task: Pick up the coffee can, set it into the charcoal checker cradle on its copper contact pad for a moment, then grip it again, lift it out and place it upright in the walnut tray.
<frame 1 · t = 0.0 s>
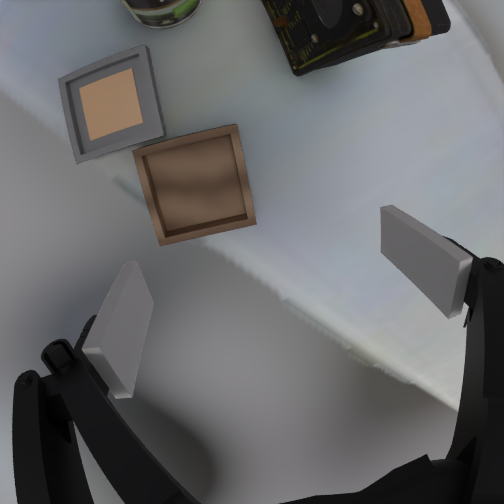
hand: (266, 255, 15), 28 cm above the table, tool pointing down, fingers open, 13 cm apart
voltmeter: (297, 26, 33), on the table
walnut tray: (196, 181, 41), on the table
checker cradle: (112, 104, 34), on the table
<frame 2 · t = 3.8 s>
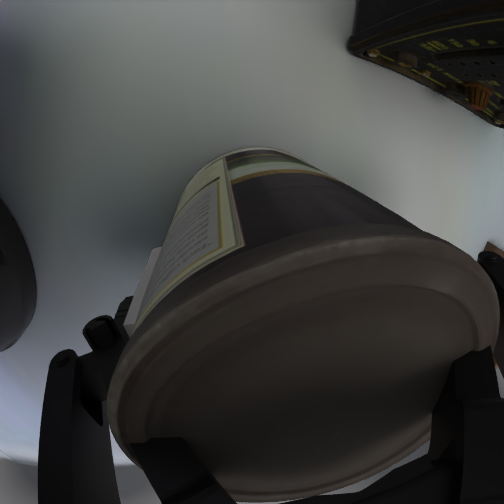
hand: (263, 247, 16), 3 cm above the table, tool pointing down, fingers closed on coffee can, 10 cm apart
coffee can: (255, 228, 19), on the table, touching gripper
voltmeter: (438, 52, 15), on the table
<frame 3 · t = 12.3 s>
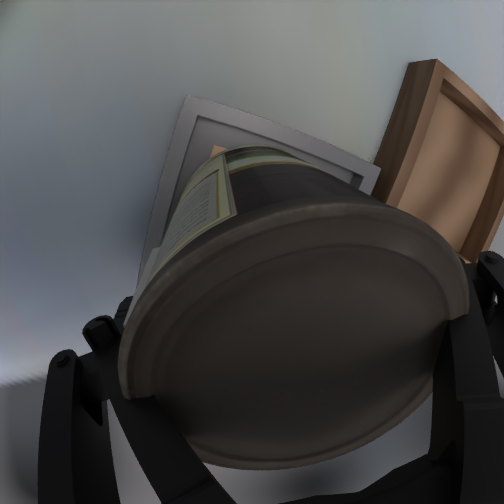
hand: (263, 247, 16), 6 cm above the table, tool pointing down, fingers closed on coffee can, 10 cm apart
coffee can: (252, 219, 20), point 1 cm above the table, touching checker cradle, gripper
walnut tray: (441, 171, 21), on the table
checker cradle: (251, 215, 21), on the table
when the fingers open (7 cm above the table, at t = 18.9 s): coffee can drops 1 cm, resting on walnut tray.
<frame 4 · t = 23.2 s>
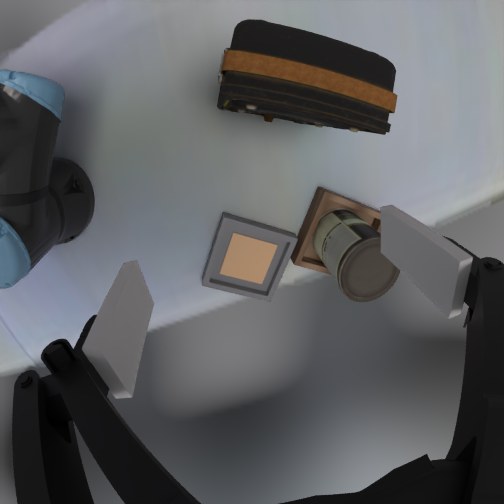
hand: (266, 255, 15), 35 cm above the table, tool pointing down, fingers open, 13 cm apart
coffee can: (336, 234, 53), point 1 cm above the table, touching walnut tray
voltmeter: (267, 95, 43), on the table
walnut tray: (336, 232, 54), on the table
checker cradle: (247, 256, 54), on the table
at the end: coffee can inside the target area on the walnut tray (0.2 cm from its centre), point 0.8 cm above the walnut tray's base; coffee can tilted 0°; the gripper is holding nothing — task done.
